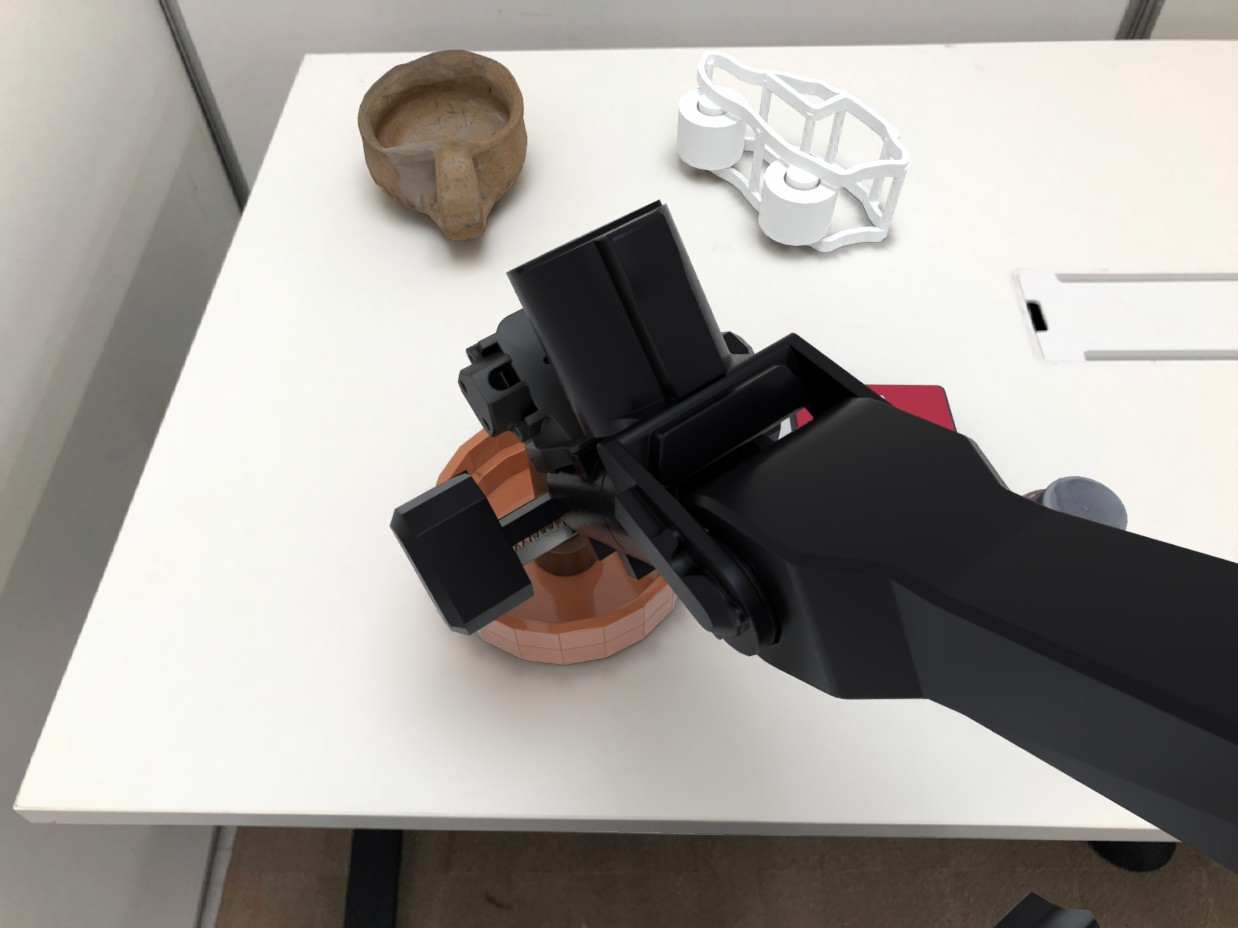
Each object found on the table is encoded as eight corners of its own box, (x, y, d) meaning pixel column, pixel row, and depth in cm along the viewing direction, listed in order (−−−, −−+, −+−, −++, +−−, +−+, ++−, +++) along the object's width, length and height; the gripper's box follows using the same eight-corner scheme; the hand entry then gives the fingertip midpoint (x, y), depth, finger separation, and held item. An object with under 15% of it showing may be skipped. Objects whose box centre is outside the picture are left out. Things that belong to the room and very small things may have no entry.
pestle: (607, 570, 53) (598, 424, 40) (535, 582, 52) (503, 438, 40) (595, 509, 55) (583, 353, 42) (527, 520, 55) (494, 366, 42)
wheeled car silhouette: (652, 150, 76) (654, 72, 70) (751, 107, 79) (761, 29, 73) (800, 284, 67) (817, 208, 60) (905, 229, 70) (931, 151, 64)
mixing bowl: (715, 642, 50) (723, 607, 46) (452, 688, 49) (435, 655, 45) (663, 433, 59) (665, 387, 55) (437, 467, 58) (422, 422, 54)
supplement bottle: (1078, 632, 50) (1179, 539, 41) (992, 669, 49) (1076, 581, 40) (1016, 549, 54) (1097, 444, 44) (933, 582, 52) (998, 481, 43)
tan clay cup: (597, 214, 69) (557, 118, 61) (448, 304, 69) (387, 222, 61) (511, 95, 78) (466, -3, 69) (379, 176, 78) (317, 88, 69)
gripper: (775, 202, 34) (620, 255, 49) (345, 421, 29) (313, 408, 43) (870, 447, 37) (698, 429, 52) (498, 691, 31) (419, 595, 46)
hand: (543, 459), depth 48 cm, fingers open, 9 cm apart
